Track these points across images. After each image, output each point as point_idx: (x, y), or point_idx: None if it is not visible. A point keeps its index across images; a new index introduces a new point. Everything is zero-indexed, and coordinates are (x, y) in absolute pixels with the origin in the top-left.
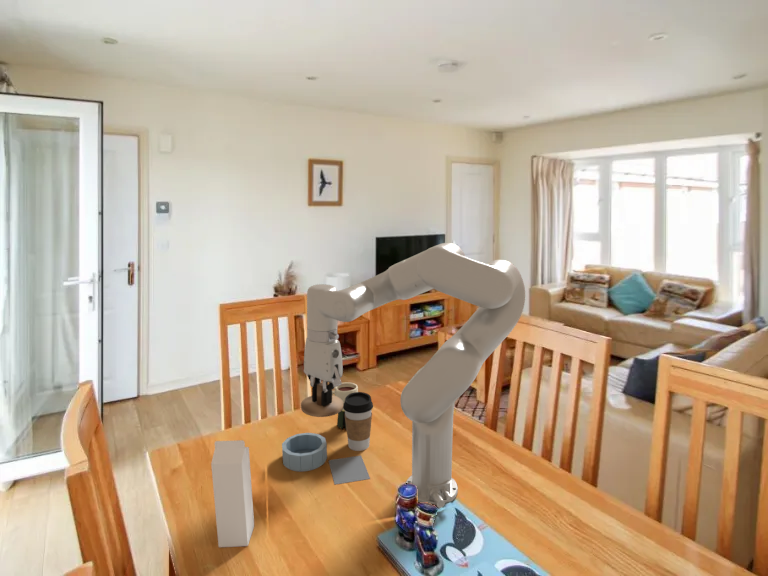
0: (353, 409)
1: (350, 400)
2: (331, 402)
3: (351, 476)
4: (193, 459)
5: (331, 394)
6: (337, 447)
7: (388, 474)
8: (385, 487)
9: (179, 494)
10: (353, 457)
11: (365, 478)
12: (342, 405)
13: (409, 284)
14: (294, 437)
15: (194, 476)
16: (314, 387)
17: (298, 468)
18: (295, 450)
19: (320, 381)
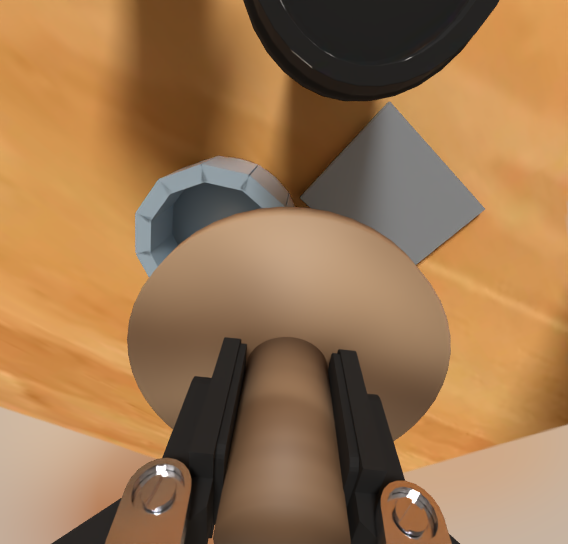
0: (399, 88)
1: None
2: (355, 354)
3: (420, 230)
4: (12, 359)
5: (394, 450)
6: (263, 93)
7: (533, 141)
8: (542, 209)
9: (125, 431)
10: (369, 132)
11: (469, 216)
12: (446, 319)
13: None
14: (150, 236)
15: (84, 392)
16: (210, 529)
17: None
18: (172, 218)
19: (187, 514)
